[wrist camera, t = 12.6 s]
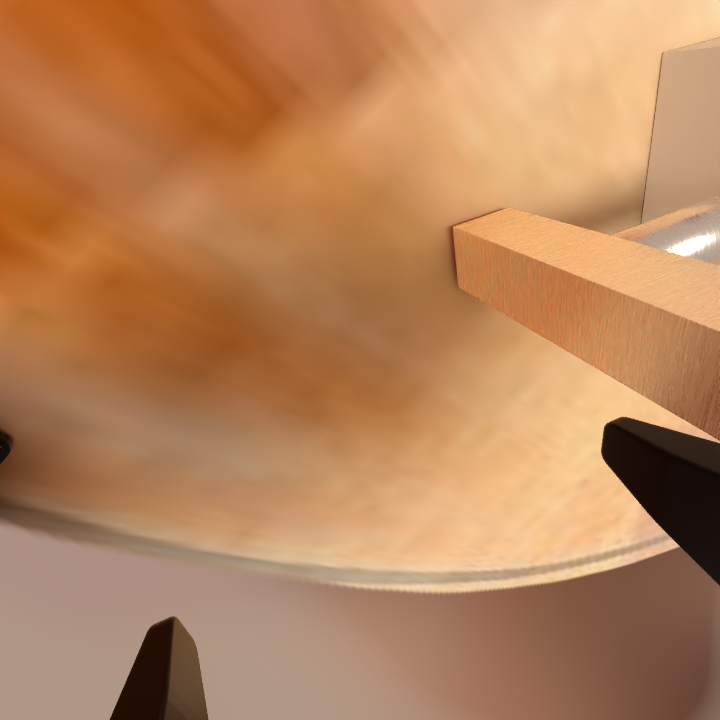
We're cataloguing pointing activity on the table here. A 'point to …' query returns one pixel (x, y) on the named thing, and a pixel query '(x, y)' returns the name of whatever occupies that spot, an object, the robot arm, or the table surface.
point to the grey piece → (612, 297)
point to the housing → (685, 132)
